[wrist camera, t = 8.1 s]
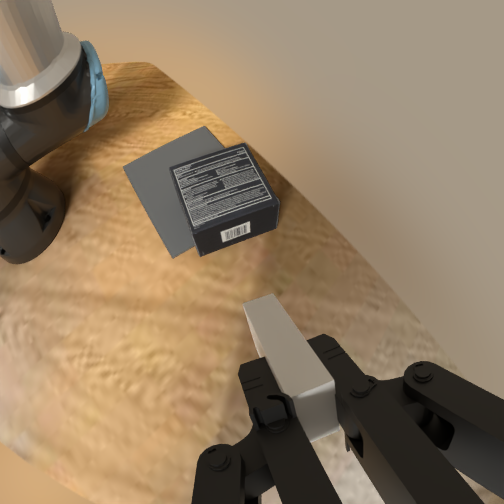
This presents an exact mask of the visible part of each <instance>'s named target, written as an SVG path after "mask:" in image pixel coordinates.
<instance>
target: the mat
mask: <svg viewBox="0 0 504 504" xmlns="http://www.w3.org/2000/svg"><path fill="white" fill-rule="evenodd" d="M222 149H225V148H224V147H223V146H222V145H221V144H220V142H219V141H218V140H217V139H216V138H215V137H214V136H213V135H212V134H211V133H210V131H209V130H208V129H207V128H206V127H205V126H203V127H201V128H199V129H196V130H194V131H192V132H190V133H188V134H186V135H184V136H182V137H179V138H177V139H175V140H173V141H171V142H169V143H167V144H165V145H163V146H161V147H159V148H157V149H155V150H153V151H151V152H149V153H148V154H146V155H144V156H142V157H140V158H138V159H136V160H134V161H133V162H131V163H129V164H127V165H125V166H123V169H124V171H125V172H126V174H127V176H128V178H129V180H130V182H131V184H132V186H133V188H134V190H135V192H136V194H137V195H138V197H139V199H140V201H141V203H142V205H143V207H144V208H145V210H146V212H147V214H148V216H149V218H150V219H151V221H152V223H153V225H154V227H155V228H156V230H157V232H158V234H159V236H160V237H161V239H162V241H163V243H164V244H165V246H166V248H167V250H168V251H169V253H170V255H171V256H172V258H175V257H177V256H178V255H180V254H182V253H184V252H185V251H187V250H189V249H190V248H192V247H194V246H195V244H194V241H193V238H192V236H191V233H190V230H189V227H188V225H187V222H186V219H185V216H184V213H183V210H182V208H181V205H180V202H179V198H178V195H177V192H176V189H175V186H174V183H173V180H172V177H171V174H170V171H169V167H171V166H174V165H177V164H180V163H182V162H185V161H188V160H191V159H194V158H197V157H200V156H203V155H206V154H209V153H212V152H216V151H219V150H222Z"/></svg>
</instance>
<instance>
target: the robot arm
mask: <svg viewBox="0 0 504 504" xmlns="http://www.w3.org/2000/svg"><path fill="white" fill-rule="evenodd" d="M108 109H109V96H108V90H107V85H106V81H105V78H104V76H103V72H102V67H101V63H100V60H99V58H98V55H97V53H96V51H95V49H94V47H93V45H92V44H91V43H90V42H89V41H82V42H80V41H79V40H78V38H77V37H76V36H75V35H73V34H71V33H68V32H62V31H61V28H60V25H59V22H58V19H57V16H56V13H55V10H54V7H53V4H52V1H51V0H0V257H2V258H3V259H4V260H6V261H7V262H9V263H12V264H22V263H26V262H28V261H30V260H32V259H34V258H35V257H37V256H38V255H39V254H41V253H42V252H43V251H44V250H45V249H46V248H47V247H48V245H49V244H50V243H51V242H52V240H53V239H54V237H55V236H56V234H57V232H58V230H59V228H60V226H61V224H62V221H63V218H64V213H65V199H64V196H63V194H62V192H61V191H60V189H59V188H58V187H57V185H56V184H55V183H54V182H53V181H52V180H50V179H48V178H47V177H45V176H43V175H41V174H40V173H38V172H36V171H34V170H33V169H31V168H30V167H29V166H30V165H32V164H33V163H35V162H36V161H38V160H39V159H41V158H42V157H44V156H45V155H47V154H48V153H50V152H51V151H53V150H54V149H56V148H58V147H59V146H61V145H62V144H64V143H66V142H67V141H69V140H71V139H72V138H74V137H76V136H78V135H79V134H81V133H83V132H86V131H87V130H88V129H89V128H90V127H91V126H93V125H94V124H96V123H97V122H99V121H100V120H102V119H103V118H104V117H105V116H106V114H107V112H108ZM242 304H243V307H244V310H245V314H246V317H247V320H248V323H249V327H250V330H251V333H252V337H253V340H254V343H255V346H256V349H257V352H258V354H259V356H260V358H259V359H256V360H253V361H250V362H247V363H244V364H241V365H240V369H239V372H238V376H239V379H240V382H241V385H242V388H243V391H244V394H245V397H246V400H247V403H248V406H249V416H250V418H251V420H252V423H253V426H252V429H251V431H250V433H249V434H248V435H247V436H246V437H245V438H244V439H243V440H241V441H240V442H238V443H236V444H235V445H233V446H231V445H229V444H218V445H213V446H211V447H209V448H207V449H206V450H204V452H203V453H202V454H201V455H200V456H199V459H198V462H197V468H196V475H195V482H194V489H193V496H192V503H191V504H261V494H262V493H264V492H265V491H267V490H269V489H270V488H272V487H273V486H275V485H276V488H277V491H278V493H279V496H280V499H281V501H282V504H342V502H341V500H340V498H339V496H338V495H337V493H336V491H335V489H334V487H333V485H332V483H331V481H330V479H329V478H328V476H327V474H326V472H325V470H324V468H323V466H322V464H321V462H320V460H319V458H318V456H317V455H316V453H315V451H314V449H313V447H312V445H311V442H313V441H316V440H318V439H321V438H323V437H326V436H328V435H330V434H333V433H335V432H337V431H339V430H340V428H339V423H340V425H341V426H342V428H343V430H344V432H345V445H346V450H347V452H348V451H350V448H351V450H352V451H353V453H354V454H355V456H356V458H357V459H358V461H359V463H360V464H361V466H362V467H363V469H364V471H365V472H366V474H367V475H368V477H369V479H370V480H371V482H372V483H373V485H374V487H375V488H376V490H377V491H378V493H379V494H380V496H381V498H382V499H383V501H384V502H385V504H484V502H483V501H482V500H481V499H480V498H479V496H478V495H477V494H476V493H475V492H474V491H473V489H472V488H471V487H470V486H469V485H468V483H467V482H466V481H465V480H464V479H463V478H462V476H461V475H460V474H459V473H458V472H457V471H456V469H457V470H459V471H460V472H462V473H463V474H465V475H466V476H468V477H469V478H471V479H472V480H474V481H475V482H477V483H478V484H480V485H482V486H483V487H485V488H486V489H488V490H489V491H491V492H493V493H494V494H496V495H497V496H499V497H501V498H502V499H504V400H503V399H501V398H499V397H497V396H495V395H494V394H492V393H489V392H488V391H486V390H484V389H482V388H480V387H478V386H476V385H474V384H472V383H471V382H469V381H467V380H465V379H463V378H461V377H459V376H457V375H455V374H453V373H452V372H450V371H448V370H446V369H444V368H442V367H440V366H438V365H436V364H434V363H431V362H428V361H420V362H416V363H413V364H412V365H410V366H408V368H407V369H406V370H405V372H404V376H403V377H399V378H394V379H390V380H377V379H376V378H375V377H372V376H369V375H365V374H364V373H363V372H362V371H361V370H360V368H359V367H358V366H357V365H356V364H355V363H354V361H353V360H352V359H351V358H350V357H349V355H348V354H347V353H345V351H344V350H343V348H342V347H340V345H339V344H338V343H337V341H336V340H335V339H334V338H332V337H330V336H328V335H326V334H322V335H319V336H317V337H314V338H311V339H309V340H306V339H305V338H304V337H303V335H302V334H301V332H300V331H299V330H298V328H297V327H296V325H295V324H294V322H293V321H292V320H291V318H290V317H289V315H288V314H287V312H286V311H285V310H284V308H283V307H282V305H281V304H280V302H279V301H278V300H277V298H276V297H275V295H274V294H273V293H272V294H269V295H266V296H263V297H260V298H257V299H254V300H251V301H248V302H245V303H242ZM455 468H456V469H455Z"/></svg>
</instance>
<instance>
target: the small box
mask: <svg viewBox="0 0 504 504" xmlns="http://www.w3.org/2000/svg"><path fill="white" fill-rule="evenodd" d="M169 171H170V174H171V177H172V180H173V183H174V186H175V189H176V192H177V195H178V198H179V202H180V205H181V208H182V210H183V213H184V216H185V219H186V222H187V225H188V227H189V230H190V233H191V236H192V238H193V241H194V244H195V246H196V249H197V252H198V254H199V256H200V257H201V256H204V255H206V254H209V253H212V252H214V251H217V250H219V249H222V248H225V247H227V246H230V245H233V244H235V243H238V242H241V241H244V240H246V239H249V238H252V237H254V236H257V235H260V234H263V233H265V232H268V231H271V230H274V229H276V228H277V224H278V214H279V207H280V200H279V199H278V198H277V197H276V195H275V193H274V192H273V190H272V188H271V186H270V185H269V183H268V181H267V179H266V177H265V176H264V174H263V172H262V170H261V169H260V167H259V165H258V163H257V162H256V160H255V158H254V157H253V155H252V153H251V152H250V150H249V148H248V145H247V144H246V143H241V144H238V145H235V146H231V147H228V148H225V149H222V150H219V151H216V152H212V153H209V154H206V155H203V156H200V157H197V158H194V159H191V160H188V161H185V162H182V163H180V164H177V165H174V166H171V167H169Z"/></svg>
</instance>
